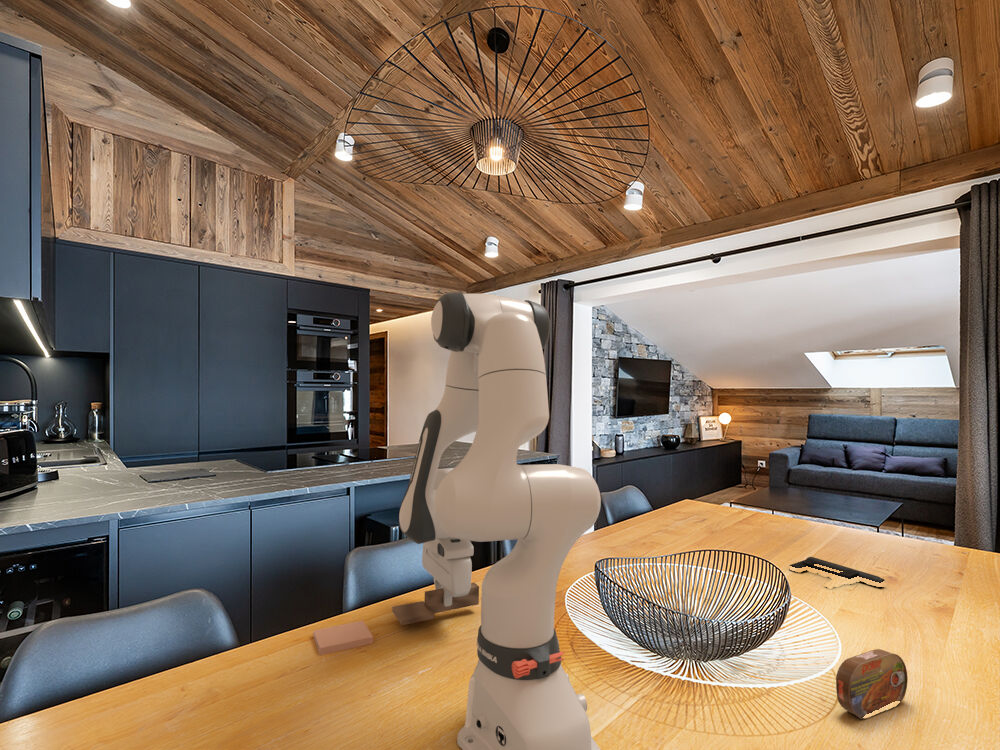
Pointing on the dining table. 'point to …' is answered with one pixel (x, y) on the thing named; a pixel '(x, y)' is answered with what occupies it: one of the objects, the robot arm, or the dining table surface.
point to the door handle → (846, 572)
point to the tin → (871, 681)
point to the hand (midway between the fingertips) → (443, 601)
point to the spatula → (433, 605)
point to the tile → (342, 637)
